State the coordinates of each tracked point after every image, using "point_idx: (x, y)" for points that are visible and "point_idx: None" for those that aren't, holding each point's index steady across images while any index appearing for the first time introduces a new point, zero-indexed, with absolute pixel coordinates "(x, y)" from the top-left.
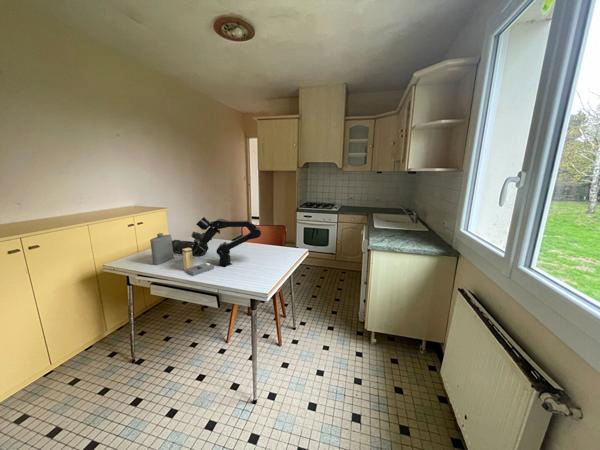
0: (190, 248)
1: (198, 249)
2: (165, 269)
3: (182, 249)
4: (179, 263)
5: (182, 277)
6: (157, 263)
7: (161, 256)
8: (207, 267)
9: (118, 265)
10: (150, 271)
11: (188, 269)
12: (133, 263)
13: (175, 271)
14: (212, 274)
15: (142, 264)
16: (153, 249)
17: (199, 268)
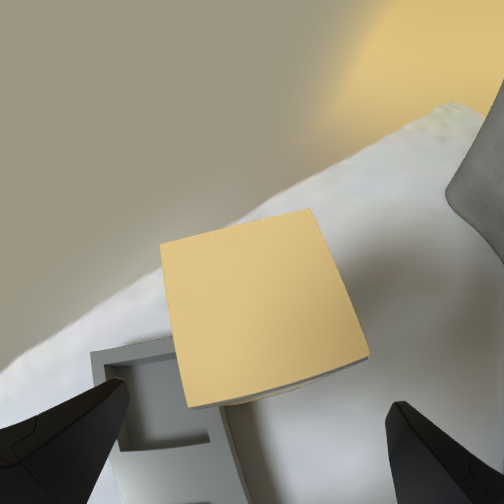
0: (247, 386)
1: (17, 469)
2: (360, 221)
3: (304, 215)
4: (442, 317)
5: (133, 290)
6: (450, 192)
7: (490, 192)
8: (117, 485)
9: (456, 109)
10: (359, 159)
11: (167, 341)
12: (473, 139)
13: None
14: None
15: (461, 155)
16: (489, 112)
17: (187, 443)
